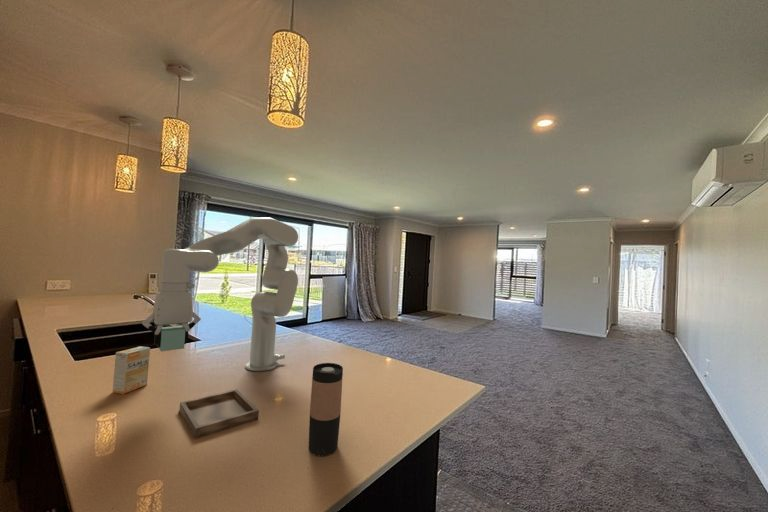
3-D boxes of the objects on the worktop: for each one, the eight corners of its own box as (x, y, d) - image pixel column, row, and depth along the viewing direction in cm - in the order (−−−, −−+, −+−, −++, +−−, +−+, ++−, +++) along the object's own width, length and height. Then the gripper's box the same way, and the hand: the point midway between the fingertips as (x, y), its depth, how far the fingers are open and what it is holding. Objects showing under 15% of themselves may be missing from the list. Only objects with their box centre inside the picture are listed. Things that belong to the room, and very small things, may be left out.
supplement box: (123, 394, 99) (126, 353, 99) (111, 392, 100) (114, 352, 100) (148, 385, 107) (151, 347, 107) (136, 383, 108) (139, 345, 108)
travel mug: (310, 438, 81) (314, 362, 82) (339, 438, 82) (344, 363, 82) (305, 457, 74) (310, 372, 74) (337, 457, 74) (342, 373, 75)
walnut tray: (236, 396, 102) (236, 389, 102) (258, 418, 89) (258, 410, 90) (179, 410, 91) (180, 402, 91) (195, 438, 78) (195, 428, 78)
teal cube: (180, 343, 102) (181, 325, 102) (184, 348, 98) (185, 329, 98) (157, 346, 98) (159, 327, 98) (160, 351, 93) (162, 331, 94)
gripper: (202, 286, 107) (199, 338, 106) (139, 287, 95) (135, 346, 95) (208, 288, 101) (204, 343, 101) (142, 289, 89) (137, 352, 89)
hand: (171, 344), depth 98 cm, fingers closed on teal cube, 6 cm apart
